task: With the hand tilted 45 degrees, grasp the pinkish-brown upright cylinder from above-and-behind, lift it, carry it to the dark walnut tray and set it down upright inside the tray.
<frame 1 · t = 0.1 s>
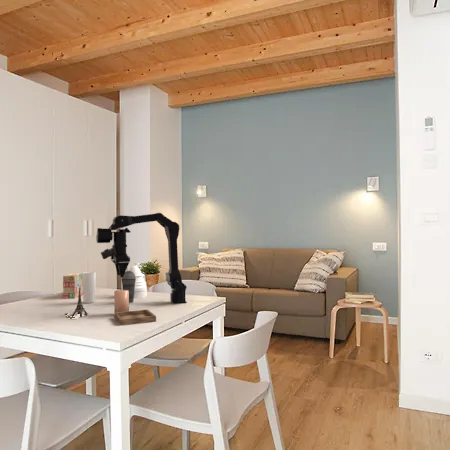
hand: (120, 276, 186), 15 cm above the table, tool pointing down, fingers open, 9 cm apart
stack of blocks: (76, 295, 221), on the table
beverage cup: (128, 302, 199), on the table
honey pot: (134, 297, 215), on the table
tray: (134, 319, 162), on the table
pinkish-brown upright cylinder: (121, 314, 172), on the table
eiffel tower figurine: (78, 317, 170), on the table
drinking glass: (89, 302, 199), on the table
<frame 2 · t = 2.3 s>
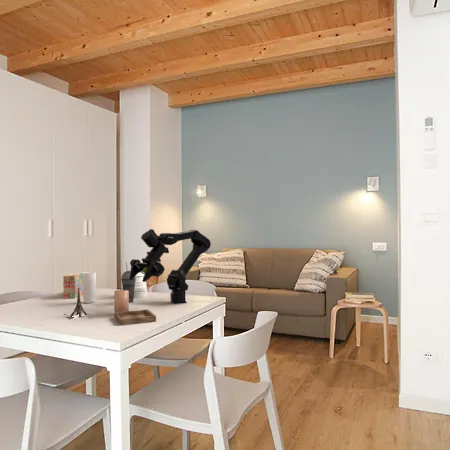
hand: (136, 280, 178), 13 cm above the table, tool tilted 45°, fingers open, 9 cm apart
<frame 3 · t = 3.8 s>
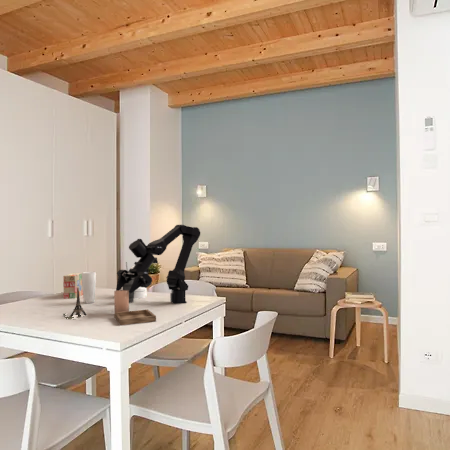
hand: (123, 291, 173), 9 cm above the table, tool tilted 45°, fingers open, 9 cm apart
nothing on the table moved.
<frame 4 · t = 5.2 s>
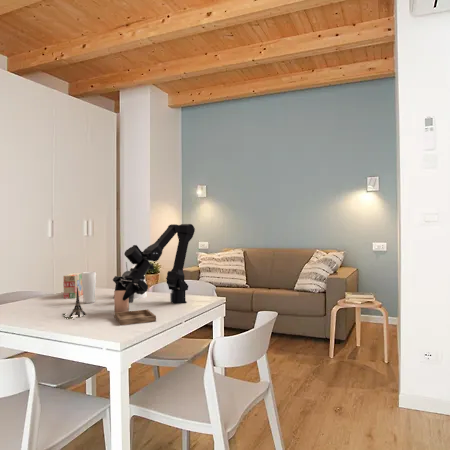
hand: (118, 299, 171), 7 cm above the table, tool tilted 45°, fingers closed on pinkish-brown upright cylinder, 6 cm apart
pinkish-brown upright cylinder: (121, 314, 172), on the table, touching gripper
everything else where it was.
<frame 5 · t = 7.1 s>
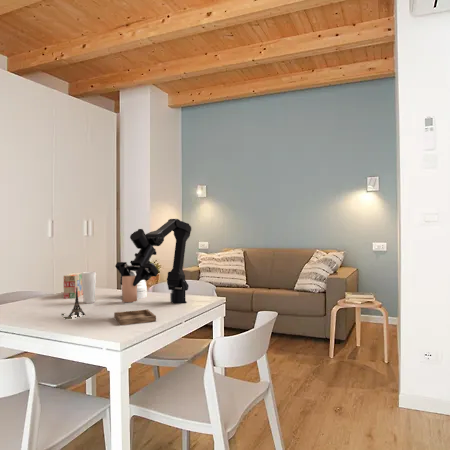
hand: (127, 285, 163), 14 cm above the table, tool tilted 45°, fingers closed on pinkish-brown upright cylinder, 6 cm apart
pinkish-brown upright cylinder: (129, 300, 164), point 7 cm above the table, touching gripper
when the fingers open (8 cm above the table, at t = 9.0 s): pinkish-brown upright cylinder drops 1 cm, resting on tray.
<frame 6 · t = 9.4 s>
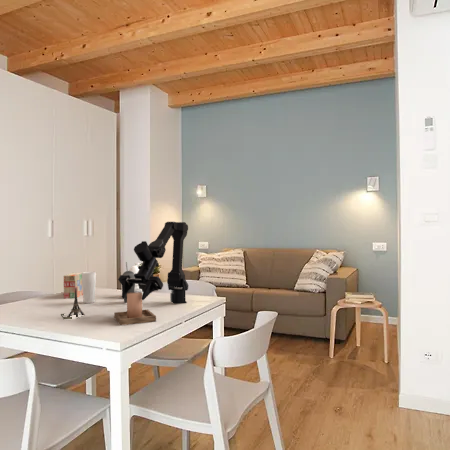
hand: (132, 298, 160), 9 cm above the table, tool tilted 45°, fingers open, 9 cm apart
pinkish-brown upright cylinder: (134, 317, 162), point 1 cm above the table, touching tray
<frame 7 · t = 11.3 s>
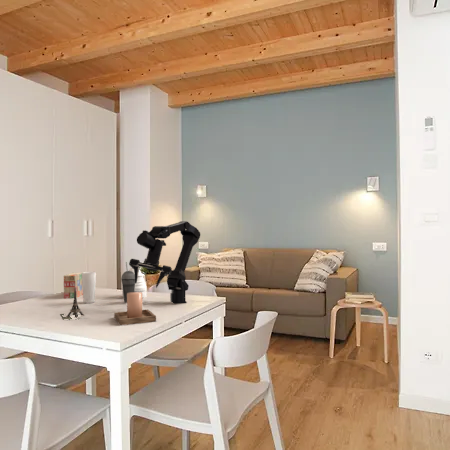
hand: (146, 285, 178), 11 cm above the table, tool tilted 20°, fingers open, 9 cm apart
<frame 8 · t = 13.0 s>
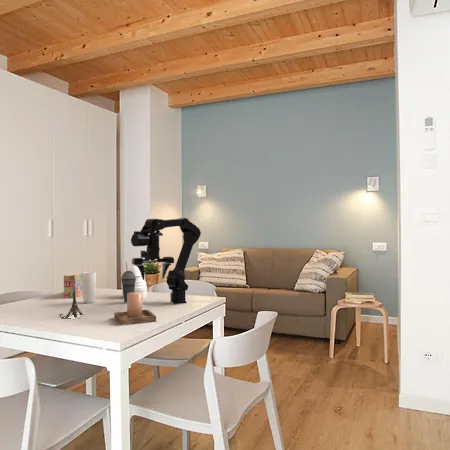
hand: (153, 279, 186), 13 cm above the table, tool pointing down, fingers open, 9 cm apart
at the end: pinkish-brown upright cylinder inside the target area on the tray (0.1 cm from its centre), point 0.6 cm above the tray's base; pinkish-brown upright cylinder tilted 0°; the gripper is holding nothing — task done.
